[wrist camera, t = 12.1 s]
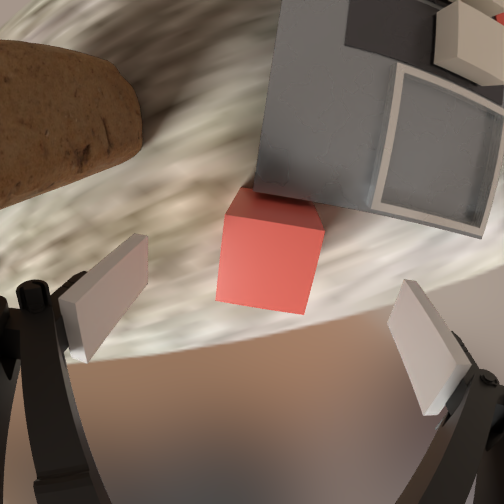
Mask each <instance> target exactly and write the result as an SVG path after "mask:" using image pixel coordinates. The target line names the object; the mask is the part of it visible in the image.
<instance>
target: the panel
mask: <svg viewBox="0 0 504 504" xmlns="http://www.w3.org/2000/svg"><path fill="white" fill-rule="evenodd" d="M450 4H452V2H450V1H448V0H282V4H281V10H280V16H279V23H278V29H277V35H276V42H275V48H274V54H273V61H272V67H271V73H270V80H269V86H268V93H267V99H266V106H265V112H264V119H263V126H262V132H261V139H260V145H259V152H258V159H257V166H256V172H255V179H254V186H253V191H254V192H260V193H266V194H272V195H279V196H284V197H290V198H296V199H302V200H307V201H313V202H318V203H324V204H329V205H334V206H339V207H344V208H349V209H354V210H359V211H364V212H369V213H374V214H378V215H383V216H388V217H392V218H397V219H401V220H405V221H410V222H414V223H418V224H423V225H427V226H431V227H435V228H439V229H443V230H447V231H451V232H455V233H459V234H463V235H466V236H470V237H474V238H478V239H482V236H483V234H484V231H485V227H486V224H487V221H488V217H489V214H490V210H491V207H492V203H493V199H494V196H495V192H496V187H497V183H498V179H499V174H500V170H501V165H502V160H503V155H504V85H494V86H480V85H478V84H477V83H475V82H473V81H470V80H468V79H466V78H464V77H462V76H460V75H458V74H456V73H454V72H451V71H449V70H447V69H444V68H442V67H440V66H437V65H435V64H434V55H435V41H436V20H437V12H438V11H440V10H441V9H443V8H445V7H447V6H448V5H450ZM490 18H492V19H494V20H495V21H497V22H499V23H500V24H502V25H503V26H504V12H503V13H500V14H498V15H495V16H492V17H490Z"/></svg>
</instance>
